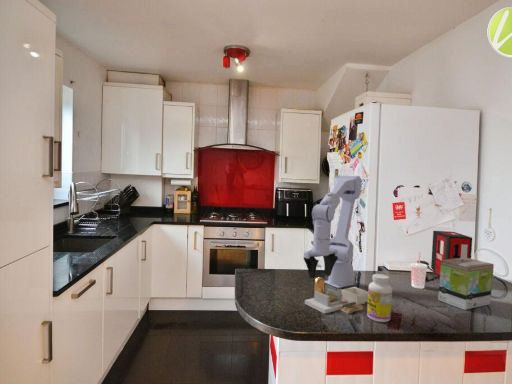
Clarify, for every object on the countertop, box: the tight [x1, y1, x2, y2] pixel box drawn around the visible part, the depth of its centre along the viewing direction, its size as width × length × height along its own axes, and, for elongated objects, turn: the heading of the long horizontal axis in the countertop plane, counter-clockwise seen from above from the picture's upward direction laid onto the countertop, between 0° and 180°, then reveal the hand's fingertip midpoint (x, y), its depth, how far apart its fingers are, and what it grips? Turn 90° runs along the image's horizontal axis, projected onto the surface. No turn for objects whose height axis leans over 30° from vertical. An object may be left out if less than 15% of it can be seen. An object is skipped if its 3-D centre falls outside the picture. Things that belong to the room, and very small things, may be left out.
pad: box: [324, 292, 337, 302], centre depth 105 cm, size 4×4×1 cm
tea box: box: [437, 258, 495, 311], centre depth 112 cm, size 15×10×15 cm, turn 117°
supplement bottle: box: [366, 273, 393, 323], centre depth 96 cm, size 7×7×13 cm
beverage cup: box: [410, 251, 428, 289], centre depth 128 cm, size 6×6×14 cm
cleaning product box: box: [430, 230, 473, 279], centre depth 142 cm, size 16×9×20 cm, turn 172°
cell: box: [314, 276, 326, 294], centre depth 113 cm, size 3×3×6 cm
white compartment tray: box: [304, 288, 350, 314], centre depth 105 cm, size 12×9×4 cm
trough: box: [339, 302, 364, 315], centre depth 102 cm, size 7×3×2 cm, turn 123°
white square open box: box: [341, 286, 368, 306], centre depth 110 cm, size 7×7×3 cm
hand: (319, 276), depth 113 cm, fingers open, 7 cm apart
